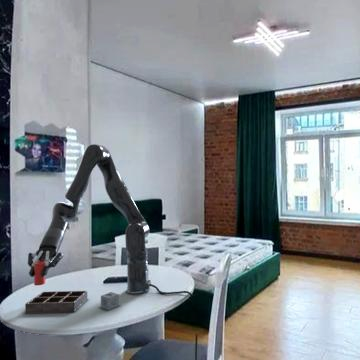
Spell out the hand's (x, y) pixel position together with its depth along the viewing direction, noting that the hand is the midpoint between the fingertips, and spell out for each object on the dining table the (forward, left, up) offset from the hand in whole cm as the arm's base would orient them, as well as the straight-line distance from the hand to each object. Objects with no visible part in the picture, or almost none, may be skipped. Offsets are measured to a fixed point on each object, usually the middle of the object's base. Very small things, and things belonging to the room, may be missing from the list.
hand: (37, 275), depth 126 cm
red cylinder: (0, -2, -4) cm, 4 cm away
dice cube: (-28, -2, -15) cm, 32 cm away
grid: (-6, -4, -14) cm, 16 cm away
